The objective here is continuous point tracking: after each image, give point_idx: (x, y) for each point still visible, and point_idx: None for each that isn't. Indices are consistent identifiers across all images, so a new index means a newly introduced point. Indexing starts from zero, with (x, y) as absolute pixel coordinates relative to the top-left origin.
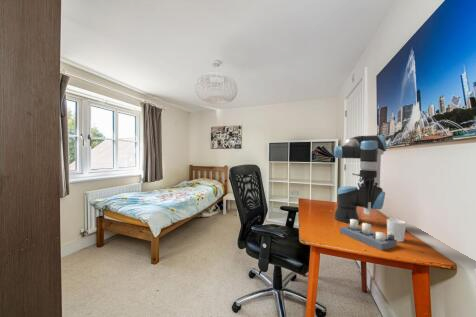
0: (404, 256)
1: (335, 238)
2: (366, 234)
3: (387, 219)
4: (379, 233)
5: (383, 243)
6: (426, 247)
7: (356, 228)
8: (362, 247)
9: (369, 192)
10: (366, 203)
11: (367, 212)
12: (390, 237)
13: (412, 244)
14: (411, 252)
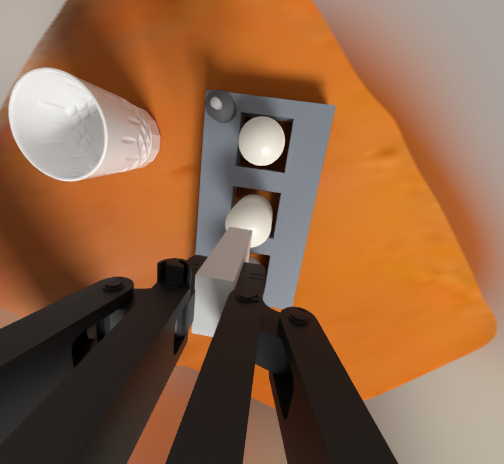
0: (302, 23)
1: (370, 277)
2: (270, 205)
3: (79, 176)
4: (271, 143)
5: (315, 105)
6: (94, 13)
7: (252, 260)
8: (367, 172)
9: (106, 436)
10: (260, 292)
11: (249, 245)
12: (233, 104)
13: (120, 66)
14: (224, 26)
